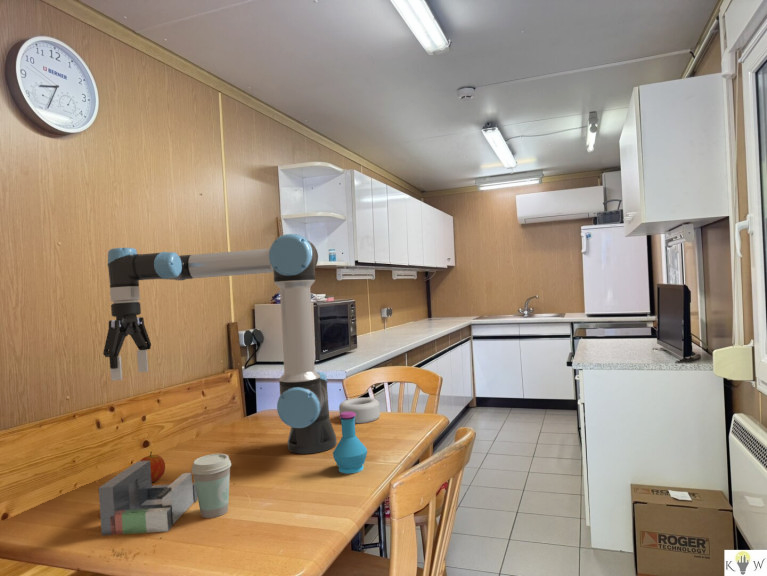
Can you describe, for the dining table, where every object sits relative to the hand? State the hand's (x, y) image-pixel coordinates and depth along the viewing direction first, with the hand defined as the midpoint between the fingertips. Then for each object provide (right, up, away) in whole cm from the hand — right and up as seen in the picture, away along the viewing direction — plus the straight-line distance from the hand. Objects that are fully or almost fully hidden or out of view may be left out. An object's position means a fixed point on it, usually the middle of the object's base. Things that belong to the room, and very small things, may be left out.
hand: (130, 375), depth 143 cm
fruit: (+10, -27, -8) cm, 30 cm away
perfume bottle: (+64, -24, -9) cm, 69 cm away
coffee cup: (+35, -25, -31) cm, 53 cm away
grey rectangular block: (+23, -26, -32) cm, 47 cm away
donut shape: (+64, -24, +43) cm, 80 cm away
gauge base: (+21, -26, -31) cm, 45 cm away
